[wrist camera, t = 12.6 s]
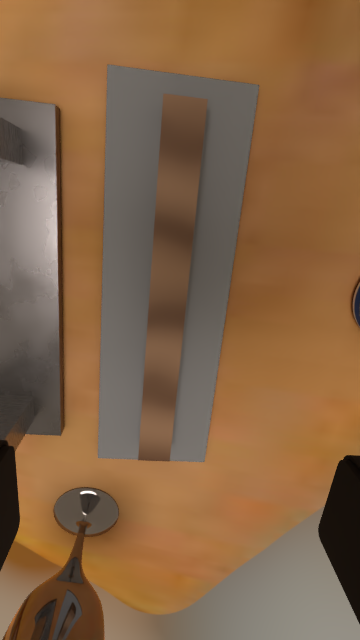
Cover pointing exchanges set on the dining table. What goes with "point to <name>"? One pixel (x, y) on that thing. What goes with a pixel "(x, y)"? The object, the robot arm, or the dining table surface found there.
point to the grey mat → (137, 245)
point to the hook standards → (30, 271)
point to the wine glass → (68, 577)
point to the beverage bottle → (357, 305)
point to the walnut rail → (170, 268)
